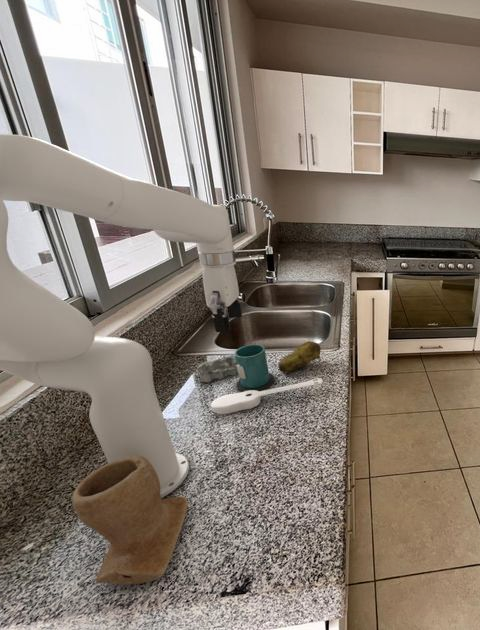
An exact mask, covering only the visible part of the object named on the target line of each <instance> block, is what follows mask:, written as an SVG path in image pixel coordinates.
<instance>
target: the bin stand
mask: <svg viewBox="0 0 480 630" xmlns="http://www.w3.org/2000/svg"><path fill="white" fill-rule="evenodd" d="M269 376H270V380H269V381H268V382H267V383H266V384H264V385H262V386H260V387H256V388H244V387H243V386H242V385H241V383H240V379H239V380H238V381H237V383H236V389H237V390H238V391H239V392H240V393H241V392H244V391H249V390H256V391H264V390H268V389H269V388H270V387H271V386H272V385H273V384H274V382H275V377H274V375H273V374H272V373H270V372H269Z"/></svg>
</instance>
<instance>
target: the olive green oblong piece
mask: <svg viewBox="0 0 480 630" xmlns="http://www.w3.org/2000/svg"><path fill="white" fill-rule="evenodd" d="M321 351H322V349H321V345H320V344H319V343H318V342H315V341H306V342H303V343H302V344H301V345H298V346H297V348H295V349H294V350H293V351H292V352H291V353H290V354H287V355H286V356H285V357H283V358H282V359H280V361H279V362H278V370H279V371H280V372H282V373H291V372H292V371H295V370H298V369H301V368H304V367H305V366H307V365H309V364H310V363H311V362H313V361H316V360H318V359H320V357H321V356H320V355H321Z"/></svg>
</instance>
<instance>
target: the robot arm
mask: <svg viewBox="0 0 480 630" xmlns="http://www.w3.org/2000/svg"><path fill="white" fill-rule="evenodd" d="M5 201H7V202H8V201H9V202H25V203H26V202H27V203H32V204H36V205H41V206H44V207H48V208H52V209H55V210H59V211H63V212H67V213H71V214H74V215H78V216H82V217H85V218H88V219H91V220H94V221H99V222H101V223H105V224H109V225H112V226H119V227H124V228H131V229H137V230H152V231H153V232H154V233H155V234H156V235H157V236H158V237H159V238H161V239H163V240H165V241H167V242H173V243H175V242H176V243H186V244H187V243H191V244H196V249H197V254H198V259H199V264H200V267H202V282H203V283H202V284H203V290H204V291H203V292H204V298H205V303H206V307H207V308H209V309H210V313H211V317H212V319H213V325H214V328H215V332H216V333H230V332H231V330H232V328H231V324H230V319H233V318H234V319H235V318H238V319H239V318H242V317H243V313H242V307H241V300H240V297H239V296H240V289H239V288H240V287H239V283H238V278H237V273H236V269H235V266H234V265H236V264H237V259H236V254H235V253H236V252H235V248H234V241H233V236H232V230H231V223H230V218H229V217H230V216H229V213H228V210H227V208H226V207H225V206H223V205H220V204H210V203H209V202H206V201H204V200H202V199H199V198H198V197H195V196H192V195H190V194H186V193H184V192H180V191H176V190H173V189H170V188H166V187H162V186H159V185H157V184H154V183H151V182H147V181H144V180H140V179H136V178H132V177H130V176H126V175H124V174H122V173H119V172H117V171H114V170H112V169H110V168H108V167H105V166H103V165H101V164H99V163H97V162H94V161H92V160H90V159H87V158H85V157H82V156H80V155H78V154H76V153H73V152H71V151H69V150H67V149H64V148H63V147H60V146H58V145H55V144H53V143H50V142H48V141H46V140H43V139H40V138H37V137H33V136H28V135H23V134H0V371H2V372H4V373H7V374H9V375H11V376H14V377H16V378H19V379H22V380H24V381H27V382H29V383H31V384H35V385H38V386H41V387H44V388H49V389H55V390H56V389H57V390H64V391H74V392H80V393H86V394H88V395H89V396H90V398H91V405H90V407H89V413H88V416H89V422H90V424H91V425H90V426H91V428H92V430H93V432H94V434H95V436H96V438H97V440H98V444H99V445H100V447H101V450H102V452H103V455H104V456H105V459H106V461H107V464H108V463H110V462H112V461H115V460H118V459H120V458H124V457H128V456H141V457H144V458H146V459H147V460H148V461H149V462H150V463H151V465H152V466H153V468H154V470H155V471H156V473H157V476H158V479H159V481H160V495H161V499H164V498H165V497H166V496H168V495H169V494H171V493H172V492H173V491H175V490H176V489H177V488H178V487H179V486H180V485H182V483H183V482H184V480H185V479H186V478H187V476H188V475H189V471H190V463H189V461H188V458H187V457H186V456H185V455H183V454H182V453H177V452H175V447H174V445H173V441H172V439H171V436H170V433H169V430H168V427H167V423H166V420H165V418H164V415H163V414H164V413H163V411H162V408H161V406H160V402H159V399H158V397H157V393H156V389H155V384H154V376H153V375H154V370H153V359H152V356H151V354H150V352H149V350H148V349H147V348H146V347H145V346H144V345H142V344H141V343H139V342H137V341H135V340H132V339H129V338H124V337H117V336H107V335H98V334H97V335H96V333H95V332H96V330H95V327H94V325H93V323H92V321H91V320H90V319H89V318H88V316H86V315H85V314H84V313H83V312H81V311H80V310H79V309H78V308H76V307H75V306H74V305H71V304H70V303H69V302H67V301H65V300H64V299H62V298H61V297H59V296H57V295H56V294H55V293H53V292H52V291H50V290H48V289H47V288H45V287H44V286H42V285H40V284H39V283H38V282H36V281H34V279H32V278H31V277H30V276H28V275H26V274H25V273H24V272H23V271H21V270H20V269H19V267H17V266H16V265H15V263H13V261H12V259H11V257H10V255H9V250H8V242H7V240H8V231H9V230H8V229H9V213H8V209H7V206H6V204H5ZM221 309H222V310H221Z"/></svg>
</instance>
